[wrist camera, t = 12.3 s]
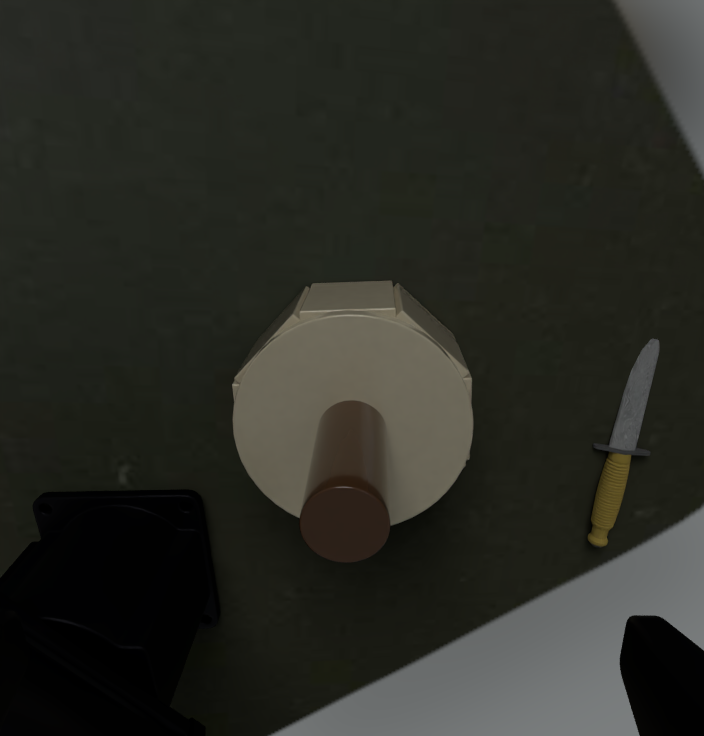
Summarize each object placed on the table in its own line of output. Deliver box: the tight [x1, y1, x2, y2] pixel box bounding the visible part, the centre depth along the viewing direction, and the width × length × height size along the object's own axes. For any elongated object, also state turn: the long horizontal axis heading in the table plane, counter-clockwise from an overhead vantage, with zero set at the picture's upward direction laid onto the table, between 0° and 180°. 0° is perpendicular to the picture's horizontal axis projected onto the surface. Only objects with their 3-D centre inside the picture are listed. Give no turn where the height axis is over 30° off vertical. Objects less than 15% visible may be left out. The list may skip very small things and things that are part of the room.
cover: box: [232, 281, 474, 563], centre depth 17 cm, size 7×7×8 cm
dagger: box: [588, 339, 659, 548], centre depth 21 cm, size 11×1×2 cm
